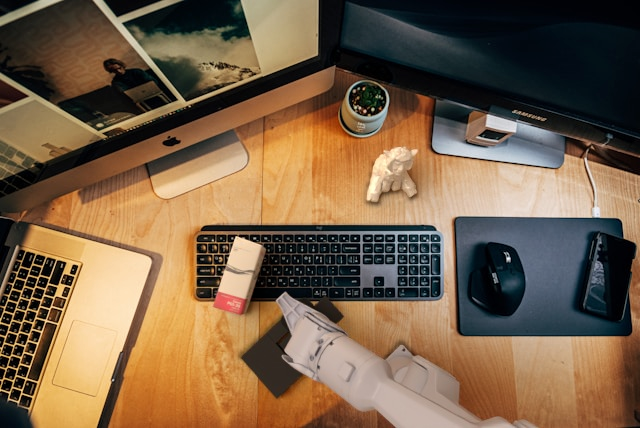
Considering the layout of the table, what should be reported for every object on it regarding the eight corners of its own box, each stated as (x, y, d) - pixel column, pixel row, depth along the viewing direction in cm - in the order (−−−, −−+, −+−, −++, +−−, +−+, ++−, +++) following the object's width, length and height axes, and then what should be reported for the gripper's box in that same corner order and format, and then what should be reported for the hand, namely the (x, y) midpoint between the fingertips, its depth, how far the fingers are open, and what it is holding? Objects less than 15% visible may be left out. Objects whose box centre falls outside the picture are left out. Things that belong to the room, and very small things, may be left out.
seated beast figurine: (366, 204, 81) (376, 191, 69) (358, 160, 82) (367, 139, 70) (416, 197, 81) (434, 182, 70) (407, 153, 83) (424, 130, 71)
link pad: (343, 315, 76) (344, 316, 73) (296, 360, 75) (295, 363, 72) (324, 295, 77) (325, 295, 74) (278, 339, 75) (277, 342, 72)
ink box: (240, 316, 69) (263, 244, 71) (210, 307, 69) (234, 235, 71) (247, 312, 77) (267, 248, 79) (220, 304, 77) (241, 240, 79)
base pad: (316, 357, 76) (316, 360, 73) (277, 394, 75) (276, 399, 72) (281, 318, 77) (280, 319, 74) (243, 354, 76) (240, 357, 73)
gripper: (257, 317, 61) (265, 311, 74) (328, 396, 60) (323, 376, 73) (294, 282, 62) (296, 282, 75) (365, 359, 61) (354, 346, 74)
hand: (312, 326), depth 74 cm, fingers closed on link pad, 4 cm apart
